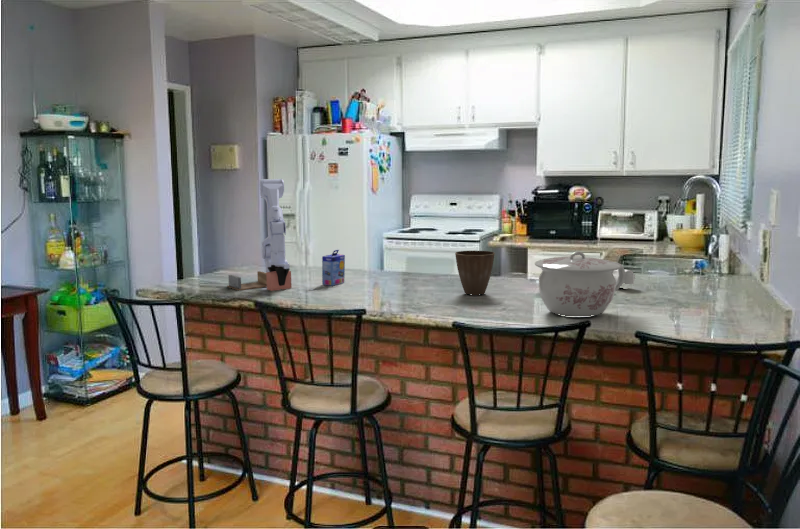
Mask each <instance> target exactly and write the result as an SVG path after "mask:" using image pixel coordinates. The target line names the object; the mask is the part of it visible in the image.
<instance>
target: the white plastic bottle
mask: <svg viewBox="0 0 800 529" xmlns="http://www.w3.org/2000/svg"><path fill="white" fill-rule="evenodd" d="M624 270H625V279H624V282H623V283H625V284H633V285H634V282H635V277H636V276H635V274H634V272H633V270H632V269H631V270H630V269H625V268H624ZM612 274H613V276H614V278H615V280H616V282H617V280H618V276H619V272H618V270H614V271H613V273H612ZM621 286H622V285H621Z"/></svg>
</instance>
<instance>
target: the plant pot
mask: <svg viewBox="0 0 800 529" xmlns="http://www.w3.org/2000/svg"><path fill="white" fill-rule="evenodd" d="M454 253H455V254H454V255H455V262H456V268H457V272H458V276H459V281H460V283H461V285H462V288H463V291H464V294H465V293H466V294H472V295H471V296H473V295H477V296H480V295H479V294H484V293H486V292H487V291H486V290H487V288H488V285H489V282H490V278H491V276H492V271H493V266H494V259H495V253H496V252H493V251H488V250H461V251H455V252H454ZM466 294H465V295H466ZM484 295H485V294H484Z"/></svg>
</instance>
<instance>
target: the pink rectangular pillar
mask: <svg viewBox="0 0 800 529" xmlns="http://www.w3.org/2000/svg"><path fill="white" fill-rule="evenodd" d="M265 273H266V277H267V287H266V290H267V291H271V292H272V291H273V292H274V291H280V289H282V290H287V289H292V271H291V270H289V272H288V274H287V277H286V281H285V285H282V286H279V282H278V276H277V273H276V271H273V272H266V271H265Z"/></svg>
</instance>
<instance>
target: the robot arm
mask: <svg viewBox="0 0 800 529" xmlns="http://www.w3.org/2000/svg"><path fill="white" fill-rule="evenodd" d="M259 190H260V191H259V192H260V193H259V194H260V198H261V199H264V201H265V202H266V218H267V220H266V221H267V237H266V238H264V239H263V240H262V241H261V258H262V259H263V260H265V273H266V272H273V271H276V273H277V276H278V282H279V286H282V285H285V281H286V277H287V274H288V272H289V271H291V270H290V263H289V262H288V260H287V258H286V237H285V236H286V234H287V225H286V222H285V218H284V214H283V213H284V212H283V209H282V207H280V199H281V198H283V196H284V193H285V181H284V179H283V178H272V179H271V178H269V179H267V178H261V179H260V180H259Z"/></svg>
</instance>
